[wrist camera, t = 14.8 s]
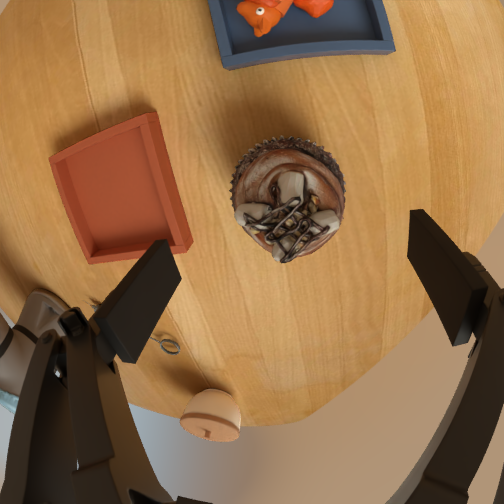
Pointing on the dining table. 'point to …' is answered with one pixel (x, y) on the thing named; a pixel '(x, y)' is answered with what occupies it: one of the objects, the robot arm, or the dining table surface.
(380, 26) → the blue tray
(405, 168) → the dining table surface
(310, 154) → the cupcake
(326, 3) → the orange toy bird
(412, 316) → the dining table surface
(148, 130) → the terracotta tray
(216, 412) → the trinket box
